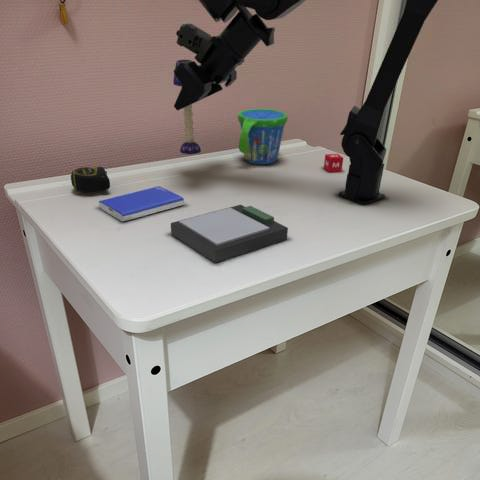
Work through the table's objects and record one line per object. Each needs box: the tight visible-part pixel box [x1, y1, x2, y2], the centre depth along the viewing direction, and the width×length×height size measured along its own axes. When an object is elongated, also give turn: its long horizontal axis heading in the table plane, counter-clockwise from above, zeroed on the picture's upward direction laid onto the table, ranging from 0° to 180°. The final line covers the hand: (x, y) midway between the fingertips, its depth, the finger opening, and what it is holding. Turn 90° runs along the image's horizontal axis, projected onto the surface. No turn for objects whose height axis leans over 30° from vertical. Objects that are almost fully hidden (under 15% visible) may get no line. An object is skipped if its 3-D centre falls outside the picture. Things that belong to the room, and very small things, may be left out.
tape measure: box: [70, 166, 111, 194], centre depth 92 cm, size 7×7×4 cm
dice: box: [323, 153, 344, 173], centre depth 107 cm, size 3×3×3 cm
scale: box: [170, 204, 289, 264], centre depth 77 cm, size 14×12×3 cm
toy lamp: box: [173, 59, 202, 155], centre depth 96 cm, size 5×5×17 cm
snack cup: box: [237, 108, 288, 166], centre depth 109 cm, size 16×10×10 cm
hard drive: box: [98, 185, 185, 222], centre depth 87 cm, size 2×8×12 cm
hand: (180, 106), depth 96 cm, fingers closed on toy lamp, 4 cm apart
